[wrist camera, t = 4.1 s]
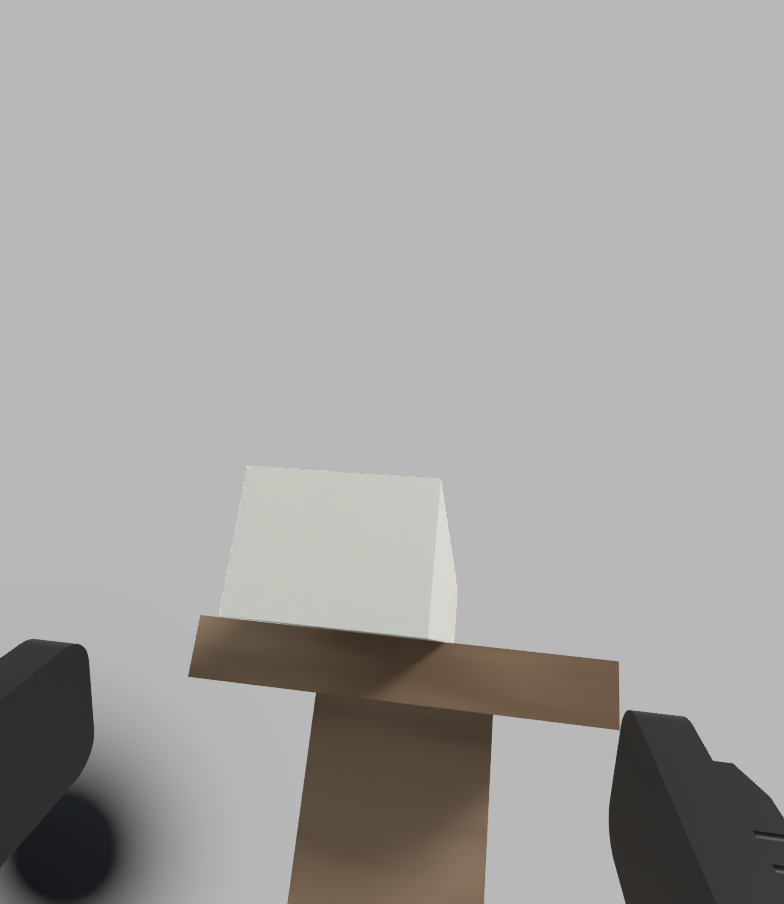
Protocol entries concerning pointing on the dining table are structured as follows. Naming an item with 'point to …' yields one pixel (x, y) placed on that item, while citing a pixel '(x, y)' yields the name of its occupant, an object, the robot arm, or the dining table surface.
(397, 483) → the white long block
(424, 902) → the stand
